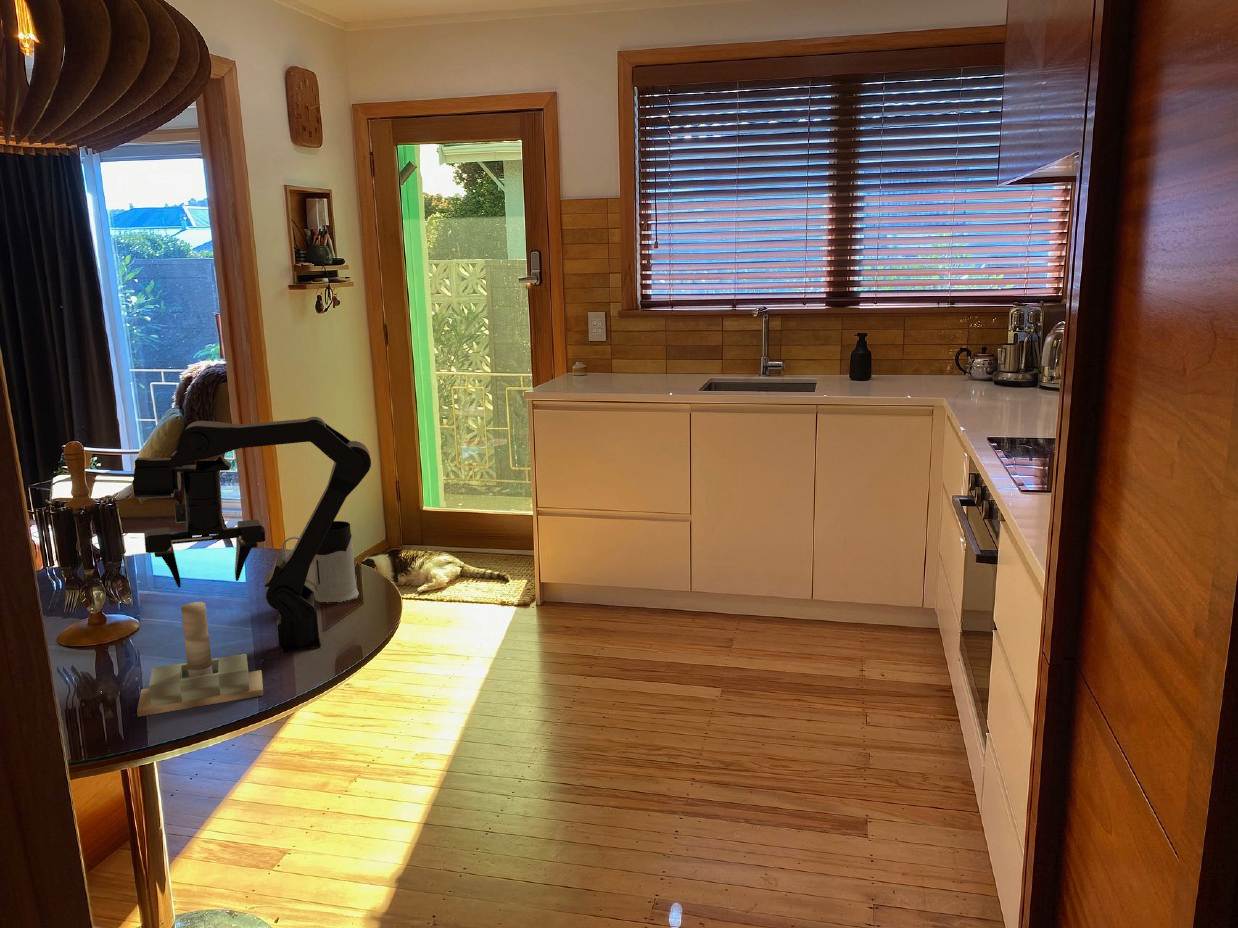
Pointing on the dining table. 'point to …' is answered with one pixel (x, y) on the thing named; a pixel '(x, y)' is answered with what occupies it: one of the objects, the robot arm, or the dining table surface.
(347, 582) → the glass holder
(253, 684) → the checkered slab
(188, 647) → the beige bar
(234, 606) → the dining table surface
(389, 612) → the dining table surface
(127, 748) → the dining table surface
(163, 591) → the dining table surface
